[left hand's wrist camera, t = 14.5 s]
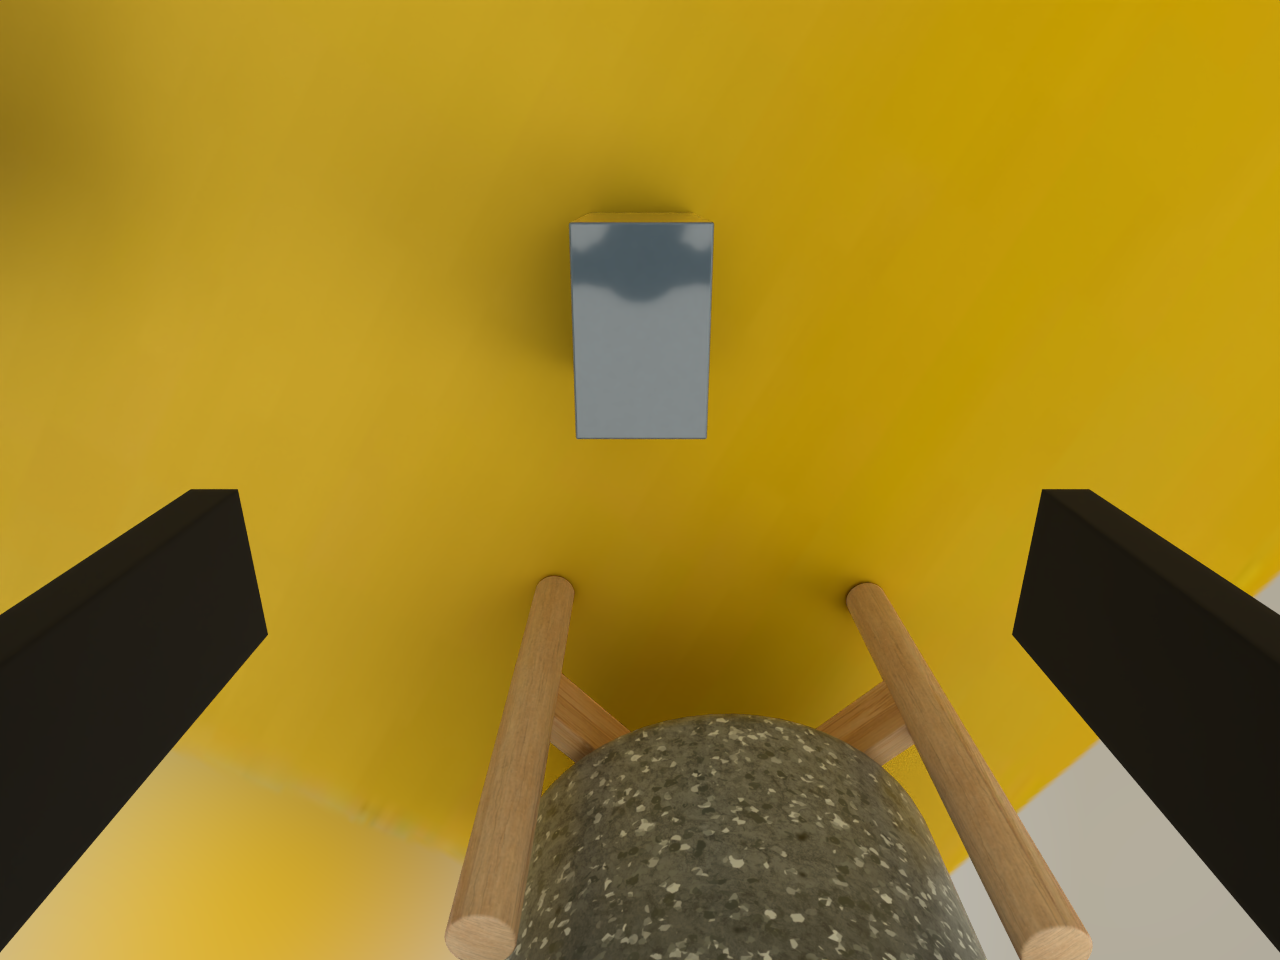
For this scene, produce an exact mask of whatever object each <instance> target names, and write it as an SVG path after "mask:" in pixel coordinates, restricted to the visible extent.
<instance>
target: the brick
mask: <svg viewBox="0 0 1280 960" xmlns="http://www.w3.org/2000/svg"><path fill="white" fill-rule="evenodd" d="M713 242H714V223H713V222H711V221H709V220H707V219H705V218H703V217H700V216H698V215H696V214H694V213H588V214H586V215H584V216H582V217H580V218H578V219H576V220H574V221H572V222H570V223H569V244H570V274H571V305H572V335H573V366H574V396H575V427H576V438H577V439H706V438H707V418H708V388H709V359H710V330H711V301H712V271H713Z"/></svg>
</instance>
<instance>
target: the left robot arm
mask: <svg viewBox="0 0 1280 960" xmlns="http://www.w3.org/2000/svg"><path fill="white" fill-rule="evenodd" d="M267 635H268V633H267V628H266V623H265V618H264V613H263V608H262V604H261V599H260V594H259V589H258V584H257V580H256V575H255V570H254V565H253V560H252V556H251V551H250V546H249V541H248V536H247V531H246V527H245V522H244V517H243V512H242V507H241V503H240V498H239V493H238V489H191V490H189V491H188V492H186V493H185V494H183V495H182V496H180V497H178V498H177V499H175V500H174V501H172V502H171V503H169V504H168V505H166V506H165V507H163V508H162V509H160V510H159V511H157V512H156V513H154V514H153V515H151V516H150V517H148V518H147V519H145V520H144V521H142V522H141V523H139V524H138V525H136V526H135V527H133V528H131V529H130V530H128V531H127V532H125V533H124V534H122V535H121V536H119V537H118V538H116V539H115V540H113V541H112V542H110V543H109V544H107V545H106V546H104V547H103V548H101V549H100V550H98V551H97V552H95V553H94V554H92V555H91V556H89V557H88V558H86V559H85V560H83V561H81V562H80V563H78V564H77V565H75V566H74V567H72V568H71V569H69V570H68V571H66V572H65V573H63V574H62V575H60V576H59V577H57V578H56V579H54V580H53V581H51V582H50V583H48V584H47V585H45V586H44V587H42V588H41V589H39V590H38V591H36V592H34V593H33V594H31V595H30V596H28V597H27V598H25V599H24V600H22V601H21V602H19V603H18V604H16V605H15V606H13V607H12V608H10V609H9V610H7V611H6V612H4V613H3V614H1V615H0V952H1V951H2V950H3V948H4V947H5V946H6V945H7V944H8V942H9V941H10V940H11V939H12V938H13V937H14V935H15V934H16V933H17V932H18V931H19V929H20V928H21V927H22V926H23V925H24V923H25V922H26V921H27V920H28V919H29V918H30V916H31V915H32V914H33V913H34V912H35V910H36V909H37V908H38V907H39V906H40V904H41V903H42V902H43V901H44V900H45V899H46V897H47V896H48V895H49V894H50V893H51V891H52V890H53V889H54V888H55V887H56V885H57V884H58V883H59V882H60V881H61V879H62V878H63V877H64V876H65V875H66V874H67V872H68V871H69V870H70V869H71V868H72V866H73V865H74V864H75V863H76V862H77V861H78V859H79V858H80V857H81V856H82V855H83V853H84V852H85V851H86V850H87V849H88V848H89V846H90V845H91V844H92V843H93V842H94V840H95V839H96V838H97V837H98V836H99V834H100V833H101V832H102V831H103V830H104V829H105V827H106V826H107V825H108V824H109V823H110V821H111V820H112V819H113V818H114V817H115V815H116V814H117V813H118V812H119V811H120V810H121V808H122V807H123V806H124V805H125V804H126V802H127V801H128V800H129V799H130V798H131V796H132V795H133V794H134V793H135V792H136V790H137V789H138V788H139V787H140V786H141V785H142V783H143V782H144V781H145V780H146V779H147V777H148V776H149V775H150V774H151V773H152V771H153V770H154V769H155V768H156V767H157V766H158V764H159V763H160V762H161V761H162V760H163V759H164V757H165V756H166V755H167V754H168V753H169V751H170V750H171V749H172V748H173V747H174V745H175V744H176V743H177V742H178V741H179V740H180V738H181V737H182V736H183V735H184V734H185V732H186V731H187V730H188V729H189V728H190V726H191V725H192V724H193V723H194V722H195V721H196V719H197V718H198V717H199V716H200V715H201V713H202V712H203V711H204V710H205V709H206V707H207V706H208V705H209V704H210V703H211V702H212V700H213V699H214V698H215V697H216V696H217V694H218V693H219V692H220V691H221V690H222V688H223V687H224V686H225V685H226V684H227V683H228V681H229V680H230V679H231V678H232V677H233V675H234V674H235V673H236V672H237V671H238V670H239V668H240V667H241V666H242V665H243V664H244V662H245V661H246V660H247V659H248V658H249V656H250V655H251V654H252V653H253V652H254V651H255V649H256V648H257V647H258V646H259V645H260V643H261V642H262V641H263V640H264V639H265V637H266V636H267ZM1012 635H1013V636H1014V637H1015V639H1016V640H1017V641H1018V642H1019V643H1020V645H1021V646H1022V647H1023V648H1024V649H1025V651H1026V652H1027V653H1028V654H1029V655H1030V656H1031V658H1032V659H1033V660H1034V661H1035V662H1036V664H1037V665H1038V666H1039V667H1040V668H1041V670H1042V671H1043V672H1044V673H1045V674H1046V675H1047V677H1048V678H1049V679H1050V680H1051V681H1052V683H1053V684H1054V685H1055V686H1056V687H1057V688H1058V690H1059V691H1060V692H1061V693H1062V694H1063V696H1064V697H1065V698H1066V699H1067V700H1068V702H1069V703H1070V704H1071V705H1072V706H1073V707H1074V709H1075V710H1076V711H1077V712H1078V713H1079V715H1080V716H1081V717H1082V718H1083V719H1084V721H1085V722H1086V723H1087V724H1088V725H1089V726H1090V728H1091V729H1092V730H1093V731H1094V732H1095V734H1096V735H1097V736H1098V737H1099V738H1100V740H1101V741H1102V742H1103V743H1104V744H1105V745H1106V747H1107V748H1108V749H1109V750H1110V751H1111V753H1112V754H1113V755H1114V756H1115V757H1116V758H1117V760H1118V761H1119V762H1120V763H1121V764H1122V766H1123V767H1124V768H1125V769H1126V770H1127V772H1128V773H1129V774H1130V775H1131V776H1132V777H1133V779H1134V780H1135V781H1136V782H1137V783H1138V785H1139V786H1140V787H1141V788H1142V789H1143V790H1144V792H1145V793H1146V794H1147V795H1148V796H1149V798H1150V799H1151V800H1152V801H1153V802H1154V804H1155V805H1156V806H1157V807H1158V808H1159V809H1160V811H1161V812H1162V813H1163V814H1164V815H1165V817H1166V818H1167V819H1168V820H1169V821H1170V822H1171V824H1172V825H1173V826H1174V827H1175V829H1176V830H1177V831H1178V832H1179V833H1180V834H1181V836H1182V837H1183V838H1184V839H1185V840H1186V842H1187V843H1188V844H1189V845H1190V846H1191V847H1192V849H1193V850H1194V851H1195V852H1196V853H1197V855H1198V856H1199V857H1200V858H1201V859H1202V861H1203V862H1204V863H1205V864H1206V865H1207V866H1208V868H1209V869H1210V870H1211V871H1212V872H1213V874H1214V875H1215V876H1216V877H1217V878H1218V880H1219V881H1220V882H1221V883H1222V884H1223V885H1224V887H1225V888H1226V889H1227V890H1228V891H1229V892H1230V894H1231V895H1232V896H1233V897H1234V899H1235V900H1236V901H1237V902H1238V903H1239V904H1240V906H1241V907H1242V908H1243V909H1244V910H1245V912H1246V913H1247V914H1248V915H1249V916H1250V918H1251V919H1252V920H1253V921H1254V922H1255V923H1256V925H1257V926H1258V927H1259V928H1260V929H1261V931H1262V932H1263V933H1264V934H1265V935H1266V937H1267V938H1268V939H1269V940H1270V941H1271V942H1272V944H1273V945H1274V946H1275V947H1276V948H1277V950H1278V951H1279V952H1280V615H1279V614H1277V613H1276V612H1274V611H1273V610H1271V609H1270V608H1268V607H1267V606H1265V605H1264V604H1262V603H1261V602H1259V601H1258V600H1256V599H1255V598H1253V597H1252V596H1250V595H1249V594H1247V593H1246V592H1244V591H1242V590H1241V589H1239V588H1238V587H1236V586H1235V585H1233V584H1232V583H1230V582H1229V581H1227V580H1226V579H1224V578H1223V577H1221V576H1220V575H1218V574H1217V573H1215V572H1214V571H1212V570H1211V569H1209V568H1208V567H1206V566H1205V565H1203V564H1202V563H1200V562H1199V561H1197V560H1195V559H1194V558H1192V557H1191V556H1189V555H1188V554H1186V553H1185V552H1183V551H1182V550H1180V549H1179V548H1177V547H1176V546H1174V545H1173V544H1171V543H1170V542H1168V541H1167V540H1165V539H1164V538H1162V537H1161V536H1159V535H1158V534H1156V533H1155V532H1153V531H1152V530H1150V529H1149V528H1147V527H1145V526H1144V525H1142V524H1141V523H1139V522H1138V521H1136V520H1135V519H1133V518H1132V517H1130V516H1129V515H1127V514H1126V513H1124V512H1123V511H1121V510H1120V509H1118V508H1117V507H1115V506H1114V505H1112V504H1111V503H1109V502H1108V501H1106V500H1105V499H1103V498H1102V497H1100V496H1098V495H1097V494H1095V493H1094V492H1092V491H1091V490H1089V489H1042V493H1041V498H1040V503H1039V507H1038V512H1037V517H1036V522H1035V527H1034V531H1033V536H1032V541H1031V546H1030V551H1029V555H1028V560H1027V565H1026V570H1025V575H1024V580H1023V584H1022V589H1021V594H1020V599H1019V604H1018V608H1017V613H1016V618H1015V623H1014V628H1013V633H1012Z"/></svg>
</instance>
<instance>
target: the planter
mask: <svg viewBox="0 0 1280 960" xmlns="http://www.w3.org/2000/svg"><path fill="white" fill-rule="evenodd" d="M573 599H574V589H573V587H572V585H571V584H570V583H569V582H568V581H567V580H566V579H564V578H562V577H558V576H550V577H547V578H544V579H543V580H541V581H540V582H539V583H538V585H537V587H536V590H535V594H534V598H533V602H532V605H531V609H530V613H529V617H528V621H527V624H526V628H525V632H524V636H523V640H522V643H521V647H520V651H519V655H518V658H517V662H516V666H515V670H514V674H513V677H512V681H511V685H510V689H509V693H508V696H507V700H506V704H505V708H504V712H503V715H502V719H501V723H500V727H499V730H498V734H497V738H496V742H495V746H494V749H493V753H492V757H491V761H490V765H489V768H488V772H487V776H486V780H485V784H484V787H483V791H482V795H481V799H480V803H479V806H478V810H477V814H476V818H475V821H474V825H473V829H472V833H471V837H470V840H469V844H468V848H467V852H466V856H465V859H464V863H463V867H462V871H461V875H460V878H459V882H458V886H457V890H456V893H455V897H454V901H453V905H452V909H451V913H450V916H449V920H448V924H447V928H446V931H445V942H446V945H447V947H448V949H449V950H450V952H451V953H452V954H453V955H454V956H456V957H457V958H459V959H460V960H987V958H986V956H985V954H984V952H983V950H982V947H981V945H980V943H979V941H978V938H977V936H976V934H975V932H974V929H973V927H972V925H971V923H970V921H969V918H968V916H967V914H966V912H965V909H964V907H963V905H962V903H961V900H960V898H959V896H958V894H957V892H956V889H955V887H954V885H953V882H952V880H951V878H950V876H949V873H948V871H947V869H946V867H945V865H944V862H943V860H942V858H941V856H940V853H939V851H938V849H937V847H936V844H935V842H934V840H933V838H932V835H931V833H930V831H929V829H928V826H927V824H926V822H925V820H924V818H923V816H922V815H921V813H920V812H919V810H918V808H917V807H916V805H915V804H914V802H913V800H912V799H911V797H910V796H909V795H908V793H907V792H906V791H905V790H904V789H903V787H902V786H901V785H900V784H899V783H898V782H897V781H896V780H895V779H894V778H893V777H892V776H891V775H890V774H889V773H888V772H887V771H886V770H885V769H884V768H883V767H881V766H882V765H883V764H885V763H886V762H888V761H889V760H891V759H892V758H894V757H895V756H897V755H898V754H900V753H901V752H903V751H904V750H906V749H907V748H909V747H910V746H911V745H913V744H915V746H916V748H917V750H918V752H919V754H920V756H921V758H922V760H923V763H924V765H925V767H926V769H927V771H928V773H929V775H930V777H931V779H932V781H933V783H934V785H935V787H936V789H937V791H938V793H939V795H940V797H941V799H942V801H943V803H944V805H945V807H946V809H947V812H948V814H949V816H950V818H951V820H952V822H953V824H954V826H955V828H956V830H957V832H958V834H959V836H960V838H961V840H962V842H963V844H964V846H965V848H966V850H967V852H968V854H969V856H970V858H971V861H972V863H973V865H974V867H975V869H976V871H977V873H978V875H979V877H980V879H981V881H982V883H983V885H984V887H985V889H986V891H987V893H988V895H989V897H990V899H991V901H992V903H993V905H994V907H995V909H996V911H997V914H998V916H999V918H1000V920H1001V922H1002V924H1003V926H1004V928H1005V930H1006V932H1007V934H1008V936H1009V938H1010V940H1011V942H1012V944H1013V946H1014V948H1015V950H1016V952H1017V954H1018V956H1019V958H1020V960H1087V959H1088V958H1089V956H1090V954H1091V952H1092V940H1091V937H1090V936H1089V934H1088V932H1087V931H1086V929H1085V927H1084V925H1083V924H1082V922H1081V920H1080V919H1079V917H1078V915H1077V914H1076V912H1075V910H1074V909H1073V907H1072V905H1071V904H1070V902H1069V900H1068V899H1067V897H1066V895H1065V894H1064V892H1063V890H1062V889H1061V887H1060V885H1059V884H1058V882H1057V880H1056V879H1055V877H1054V875H1053V874H1052V872H1051V870H1050V869H1049V867H1048V865H1047V864H1046V862H1045V860H1044V859H1043V857H1042V855H1041V854H1040V852H1039V850H1038V849H1037V847H1036V845H1035V844H1034V842H1033V840H1032V839H1031V837H1030V835H1029V834H1028V832H1027V830H1026V829H1025V827H1024V825H1023V824H1022V822H1021V820H1020V819H1019V817H1018V815H1017V814H1016V812H1015V810H1014V809H1013V807H1012V805H1011V804H1010V802H1009V800H1008V798H1007V797H1006V795H1005V793H1004V792H1003V790H1002V788H1001V787H1000V785H999V783H998V782H997V780H996V778H995V777H994V775H993V773H992V772H991V770H990V768H989V767H988V765H987V763H986V762H985V760H984V758H983V757H982V755H981V753H980V752H979V750H978V748H977V747H976V745H975V743H974V742H973V740H972V738H971V737H970V735H969V733H968V732H967V730H966V728H965V727H964V725H963V723H962V722H961V720H960V718H959V717H958V715H957V713H956V712H955V710H954V708H953V707H952V705H951V703H950V702H949V700H948V698H947V697H946V695H945V693H944V692H943V690H942V688H941V687H940V685H939V683H938V682H937V680H936V678H935V677H934V675H933V673H932V671H931V670H930V668H929V666H928V665H927V663H926V661H925V660H924V658H923V656H922V655H921V653H920V651H919V650H918V648H917V646H916V645H915V643H914V641H913V640H912V638H911V636H910V635H909V633H908V631H907V630H906V628H905V626H904V625H903V623H902V621H901V620H900V618H899V616H898V615H897V613H896V611H895V610H894V608H893V606H892V605H891V603H890V601H889V600H888V598H887V596H886V595H885V593H884V591H883V590H882V589H881V588H880V587H879V586H878V585H876V584H872V583H863V584H860V585H857V586H856V587H854V588H853V589H852V590H851V591H850V592H849V594H848V596H847V600H846V604H847V607H848V609H849V611H850V614H851V616H852V618H853V620H854V622H855V624H856V626H857V628H858V630H859V632H860V634H861V636H862V638H863V640H864V642H865V644H866V646H867V648H868V650H869V652H870V654H871V656H872V658H873V660H874V663H875V665H876V667H877V669H878V671H879V673H880V675H881V677H882V679H883V681H882V682H881V683H880V684H878V685H877V686H875V687H874V688H873V689H871V690H870V691H868V692H867V693H865V694H864V695H863V696H861V697H860V698H858V699H857V700H856V701H854V702H853V703H851V704H850V705H849V706H847V707H846V708H844V709H843V710H842V711H840V712H839V713H837V714H836V715H835V716H833V717H832V718H830V719H829V720H828V721H826V722H825V723H823V724H822V725H821V726H819V727H818V728H816V729H814V728H811V727H808V726H805V725H802V724H799V723H795V722H791V721H786V720H782V719H778V718H771V717H765V716H758V715H745V714H708V715H699V716H690V717H683V718H678V719H673V720H668V721H664V722H660V723H657V724H653V725H650V726H646V727H643V728H640V729H638V730H635V731H632V732H630V731H629V730H628V729H627V728H626V727H625V726H623V725H622V724H621V723H620V722H619V721H617V720H616V719H615V718H614V717H613V716H612V715H610V714H609V713H608V712H607V711H606V710H604V709H603V708H602V707H601V706H600V705H599V704H597V703H596V702H595V701H594V700H593V699H591V698H590V697H589V696H588V695H587V694H586V693H584V692H583V691H582V690H581V689H580V688H578V687H577V686H576V685H575V684H574V683H573V682H571V681H570V680H569V679H568V678H567V677H565V676H564V675H563V674H562V673H561V672H562V666H563V660H564V654H565V648H566V642H567V636H568V630H569V624H570V618H571V611H572V605H573ZM550 742H551V743H552V744H553V745H554V746H556V747H557V748H558V749H559V750H561V751H562V752H563V753H564V754H566V755H567V756H568V757H569V758H571V759H572V760H573V761H574V762H575V764H574V765H573V766H571V767H570V768H569V769H568V770H566V771H565V772H564V773H563V774H562V775H561V776H560V777H559V778H558V779H557V780H556V781H555V782H554V783H553V784H552V785H551V786H550V787H549V788H548V789H547V791H546V792H545V793H544V794H543V796H542V797H541V792H542V786H543V780H544V774H545V768H546V762H547V756H548V750H549V744H550Z"/></svg>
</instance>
